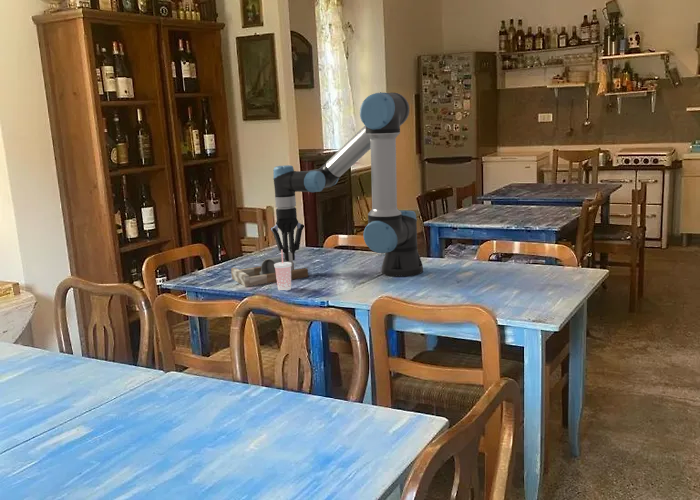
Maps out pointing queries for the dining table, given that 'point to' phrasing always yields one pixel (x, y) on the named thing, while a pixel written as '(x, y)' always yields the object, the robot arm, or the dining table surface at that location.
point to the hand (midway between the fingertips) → (290, 269)
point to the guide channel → (254, 278)
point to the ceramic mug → (270, 265)
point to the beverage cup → (283, 274)
